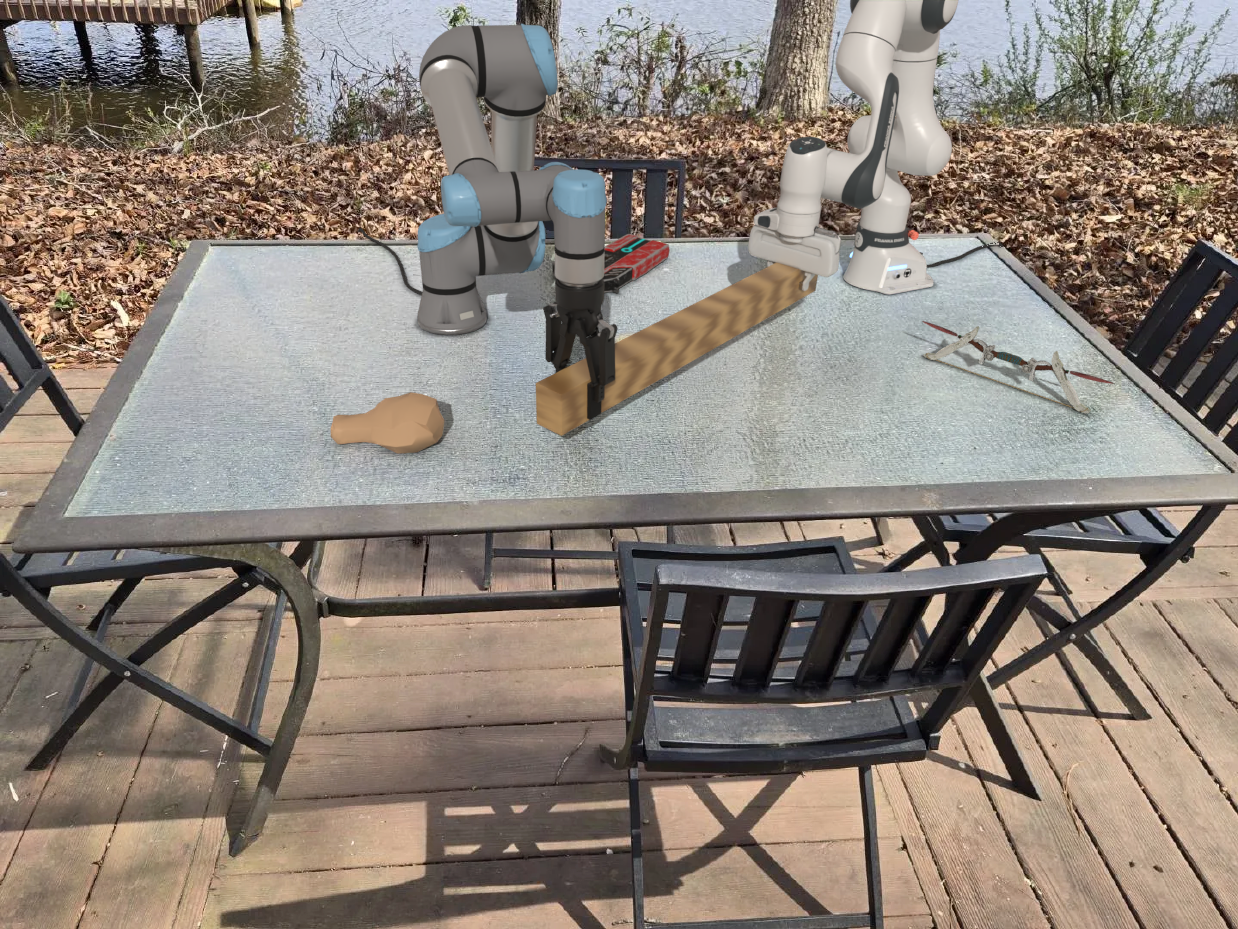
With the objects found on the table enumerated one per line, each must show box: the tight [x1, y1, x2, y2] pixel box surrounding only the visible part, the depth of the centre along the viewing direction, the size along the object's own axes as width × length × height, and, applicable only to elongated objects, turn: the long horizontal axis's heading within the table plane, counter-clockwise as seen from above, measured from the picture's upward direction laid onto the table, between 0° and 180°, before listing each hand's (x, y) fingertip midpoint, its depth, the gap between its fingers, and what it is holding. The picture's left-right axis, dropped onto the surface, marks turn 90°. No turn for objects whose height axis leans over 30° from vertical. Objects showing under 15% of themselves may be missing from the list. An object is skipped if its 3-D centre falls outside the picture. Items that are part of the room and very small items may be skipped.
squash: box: [330, 392, 446, 455], centre depth 152 cm, size 11×20×9 cm, turn 90°
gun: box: [551, 233, 671, 294], centre depth 224 cm, size 4×31×19 cm
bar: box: [535, 263, 819, 437], centre depth 166 cm, size 82×6×8 cm, turn 140°
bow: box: [921, 320, 1114, 414], centre depth 176 cm, size 39×2×10 cm, turn 47°
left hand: (579, 409), depth 146 cm, fingers closed on bar, 6 cm apart
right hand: (788, 285), depth 188 cm, fingers closed on bar, 5 cm apart
